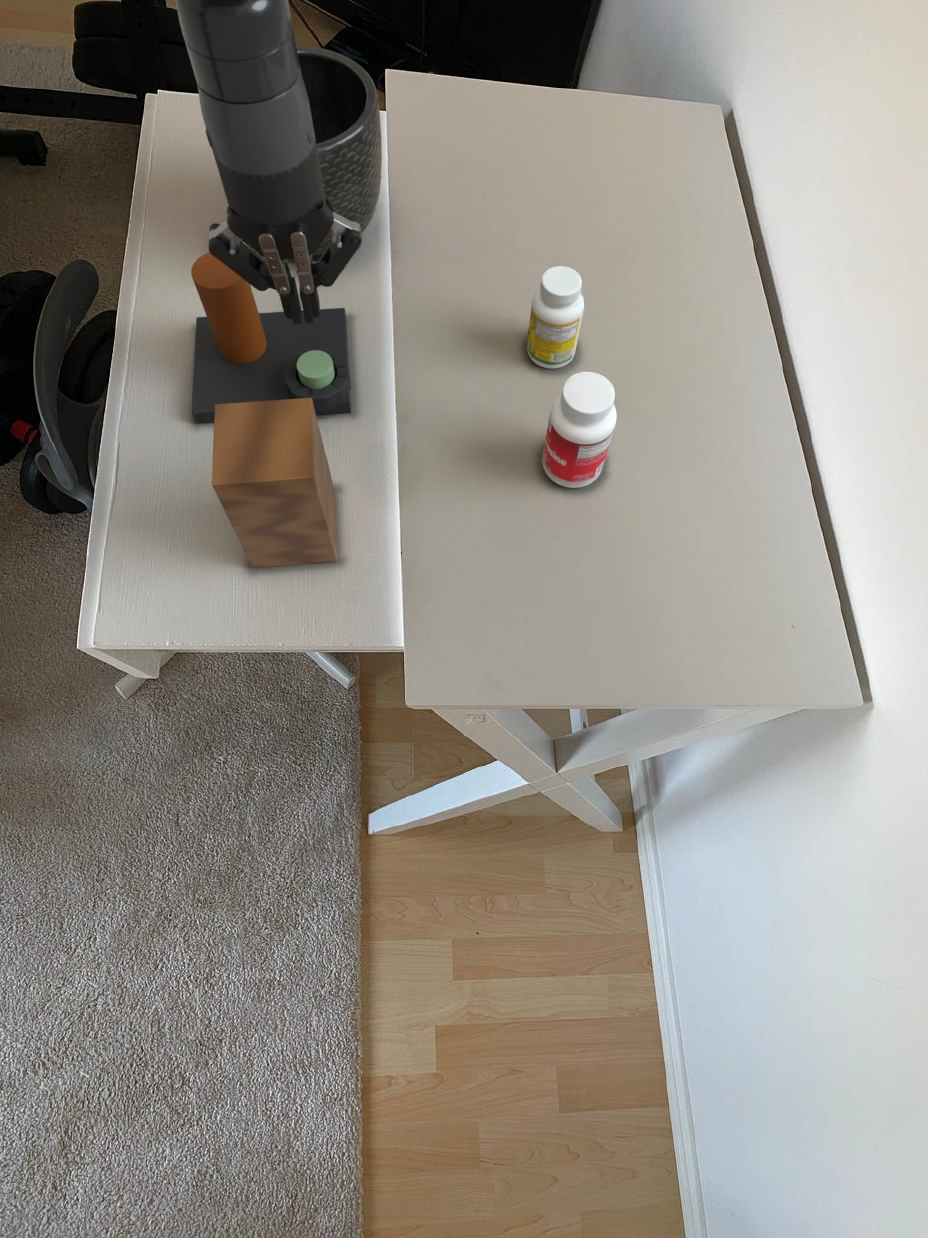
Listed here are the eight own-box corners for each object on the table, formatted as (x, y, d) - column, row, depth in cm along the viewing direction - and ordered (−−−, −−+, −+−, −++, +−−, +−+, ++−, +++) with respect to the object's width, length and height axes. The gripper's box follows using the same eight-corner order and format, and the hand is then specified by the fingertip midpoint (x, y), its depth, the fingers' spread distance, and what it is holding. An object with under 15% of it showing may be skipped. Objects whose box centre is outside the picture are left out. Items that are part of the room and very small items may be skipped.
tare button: (299, 390, 79) (296, 378, 78) (299, 363, 81) (296, 350, 79) (335, 388, 80) (333, 376, 78) (334, 360, 81) (332, 348, 79)
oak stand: (252, 568, 75) (211, 485, 62) (253, 497, 78) (214, 403, 65) (337, 561, 75) (313, 477, 62) (334, 491, 78) (311, 397, 65)
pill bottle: (534, 446, 81) (545, 370, 71) (591, 434, 81) (610, 358, 71) (551, 495, 78) (566, 425, 68) (610, 483, 79) (633, 412, 69)
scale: (195, 429, 81) (185, 407, 78) (200, 328, 87) (191, 303, 83) (353, 418, 82) (349, 396, 79) (348, 318, 87) (344, 294, 84)
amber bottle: (218, 365, 82) (189, 290, 73) (220, 329, 84) (192, 251, 75) (267, 362, 83) (243, 286, 74) (267, 326, 85) (244, 248, 76)
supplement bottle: (562, 377, 84) (575, 308, 76) (517, 358, 85) (525, 288, 77) (583, 343, 86) (597, 272, 78) (539, 325, 87) (548, 253, 79)
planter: (363, 301, 89) (346, 169, 74) (220, 271, 90) (175, 135, 76) (407, 199, 95) (399, 60, 81) (274, 173, 97) (242, 31, 82)
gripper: (352, 98, 59) (373, 282, 75) (172, 107, 58) (232, 291, 74) (356, 165, 56) (378, 343, 72) (166, 176, 55) (230, 353, 71)
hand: (303, 316), depth 73 cm, fingers closed
